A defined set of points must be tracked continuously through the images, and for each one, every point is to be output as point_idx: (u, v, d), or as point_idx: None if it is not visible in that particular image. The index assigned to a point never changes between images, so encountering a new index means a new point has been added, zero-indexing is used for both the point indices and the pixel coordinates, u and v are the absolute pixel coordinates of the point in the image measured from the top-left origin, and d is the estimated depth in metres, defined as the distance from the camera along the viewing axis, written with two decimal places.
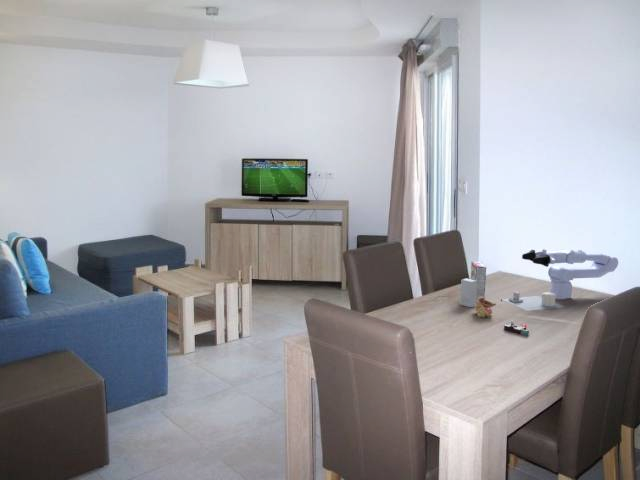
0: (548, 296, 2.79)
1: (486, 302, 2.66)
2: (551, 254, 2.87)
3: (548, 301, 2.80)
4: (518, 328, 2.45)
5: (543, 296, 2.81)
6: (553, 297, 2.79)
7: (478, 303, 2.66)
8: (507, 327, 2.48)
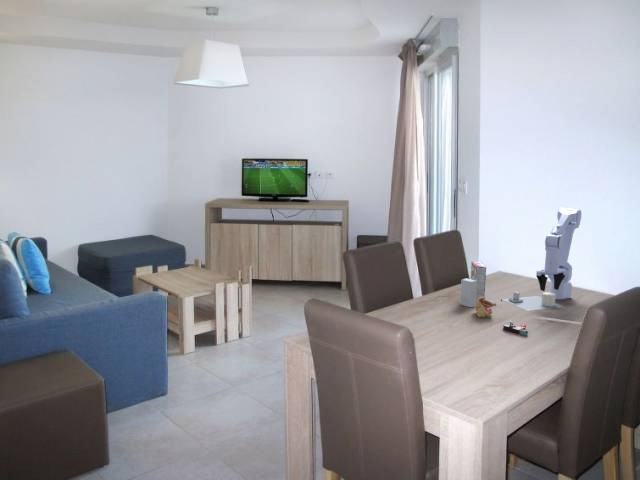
0: (548, 296, 2.79)
1: (486, 302, 2.66)
2: (558, 266, 2.78)
3: (548, 301, 2.80)
4: (517, 328, 2.45)
5: (543, 296, 2.81)
6: (553, 297, 2.79)
7: (478, 303, 2.66)
8: (506, 327, 2.48)
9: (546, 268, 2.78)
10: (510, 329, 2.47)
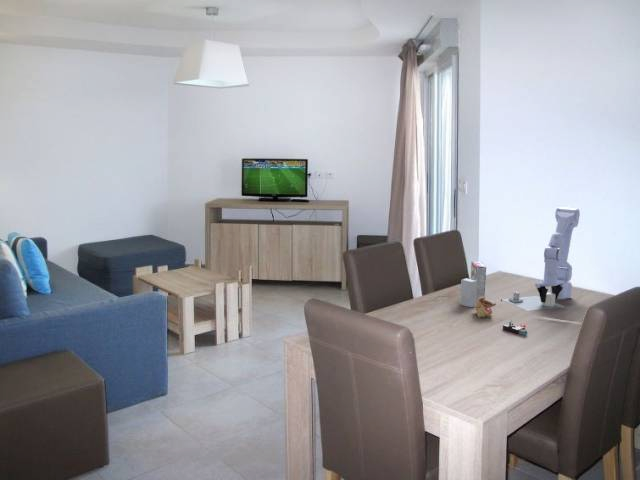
0: (548, 296, 2.79)
1: (486, 302, 2.66)
2: (557, 278, 2.79)
3: (548, 301, 2.80)
4: (516, 328, 2.45)
5: None
6: (553, 297, 2.79)
7: (478, 303, 2.66)
8: (505, 327, 2.48)
9: (545, 280, 2.79)
10: (509, 329, 2.46)
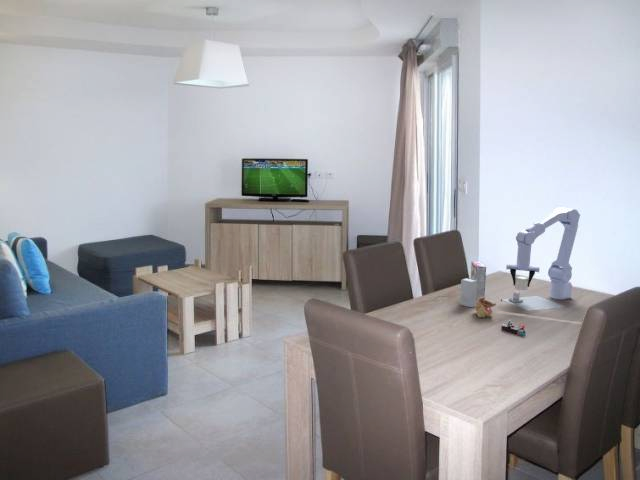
0: (517, 279, 2.83)
1: (486, 302, 2.65)
2: (527, 262, 2.80)
3: (517, 284, 2.83)
4: (515, 328, 2.45)
5: None
6: (522, 281, 2.82)
7: (478, 303, 2.66)
8: (504, 327, 2.48)
9: None
10: (508, 329, 2.46)
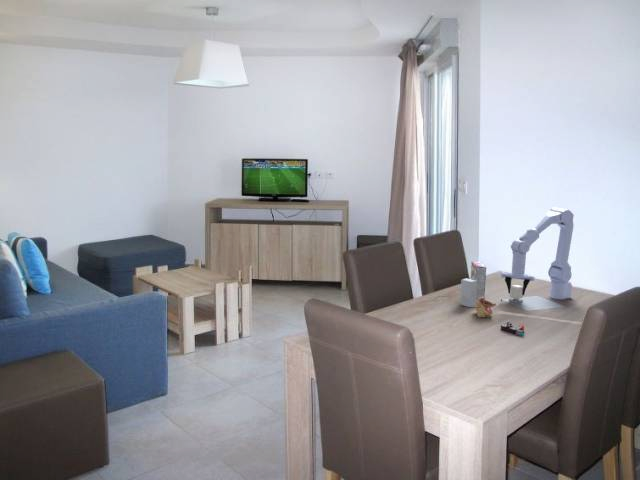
0: (511, 288, 2.85)
1: (486, 302, 2.65)
2: (521, 271, 2.82)
3: (511, 292, 2.85)
4: (514, 328, 2.45)
5: None
6: (516, 289, 2.83)
7: (478, 303, 2.66)
8: (503, 327, 2.48)
9: None
10: (507, 329, 2.47)
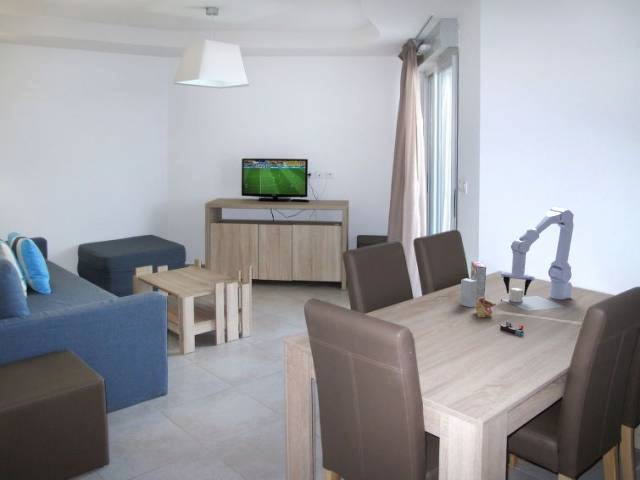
0: (511, 291, 2.85)
1: (486, 302, 2.65)
2: (521, 271, 2.82)
3: (511, 296, 2.86)
4: (513, 328, 2.45)
5: (510, 290, 2.88)
6: (516, 293, 2.84)
7: (478, 303, 2.66)
8: (503, 327, 2.48)
9: None
10: (506, 329, 2.47)
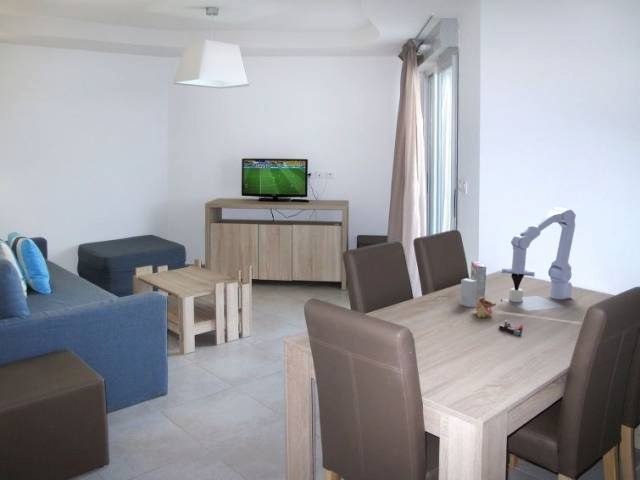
0: (511, 291, 2.85)
1: (486, 302, 2.65)
2: (522, 267, 2.81)
3: (511, 296, 2.86)
4: (512, 328, 2.45)
5: (510, 290, 2.88)
6: (516, 293, 2.84)
7: (478, 303, 2.66)
8: (501, 327, 2.48)
9: (512, 267, 2.85)
10: (505, 329, 2.47)
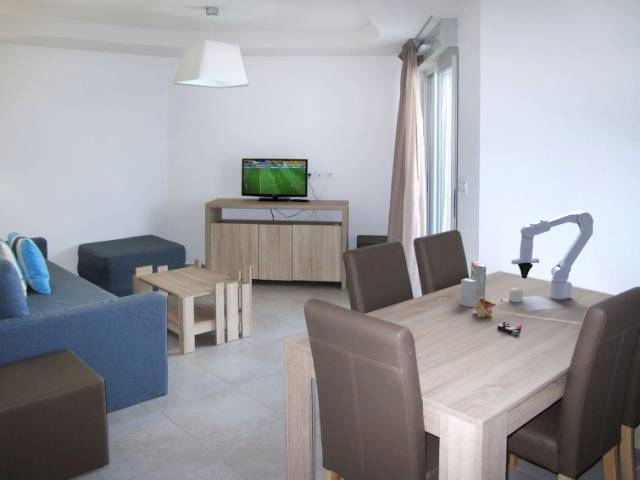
0: (511, 291, 2.85)
1: (486, 302, 2.65)
2: None
3: (511, 296, 2.86)
4: (510, 328, 2.45)
5: (510, 290, 2.88)
6: (516, 293, 2.84)
7: (478, 303, 2.66)
8: (500, 327, 2.48)
9: (521, 257, 2.93)
10: (503, 329, 2.47)
